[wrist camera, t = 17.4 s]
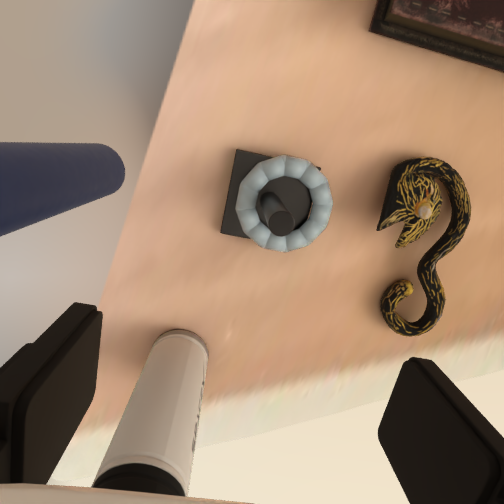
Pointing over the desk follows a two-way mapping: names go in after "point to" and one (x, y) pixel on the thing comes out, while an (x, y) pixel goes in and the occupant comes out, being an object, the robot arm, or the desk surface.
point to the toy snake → (416, 224)
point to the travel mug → (159, 421)
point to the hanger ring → (274, 170)
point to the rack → (267, 199)
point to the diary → (446, 27)
